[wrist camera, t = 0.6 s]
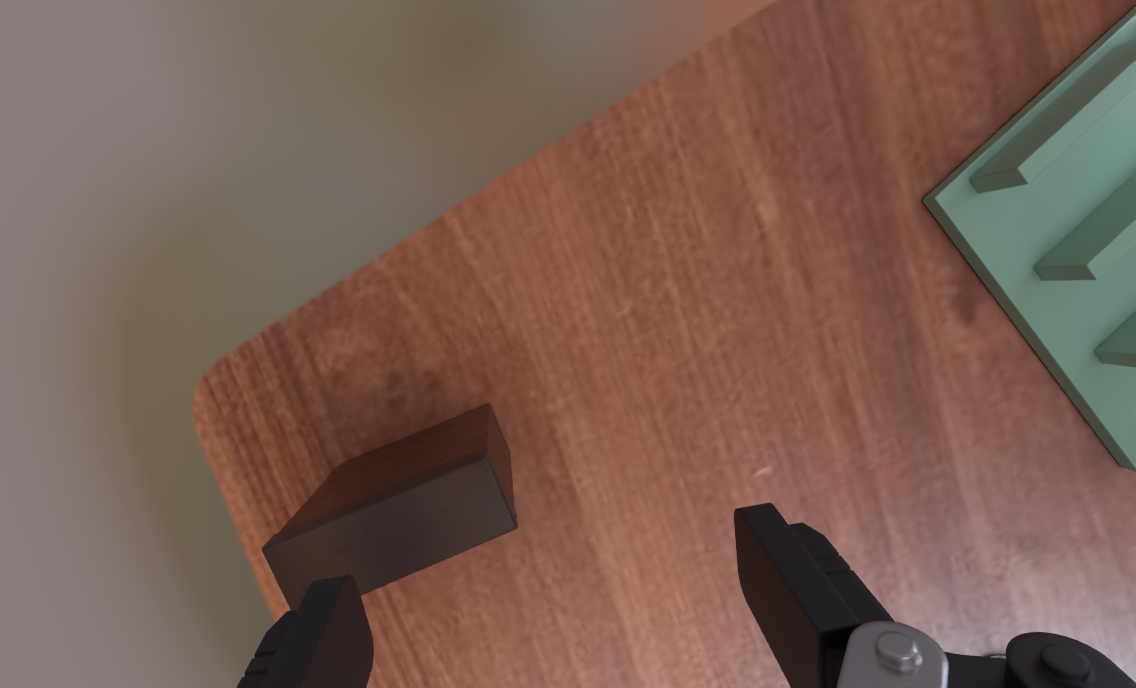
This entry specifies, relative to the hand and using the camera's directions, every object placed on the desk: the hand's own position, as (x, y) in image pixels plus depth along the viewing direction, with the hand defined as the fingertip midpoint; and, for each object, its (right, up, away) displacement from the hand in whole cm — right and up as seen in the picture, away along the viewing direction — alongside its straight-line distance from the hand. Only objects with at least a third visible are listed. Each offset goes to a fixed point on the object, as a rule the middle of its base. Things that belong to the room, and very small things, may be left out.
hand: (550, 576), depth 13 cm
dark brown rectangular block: (-7, -1, +18) cm, 19 cm away
